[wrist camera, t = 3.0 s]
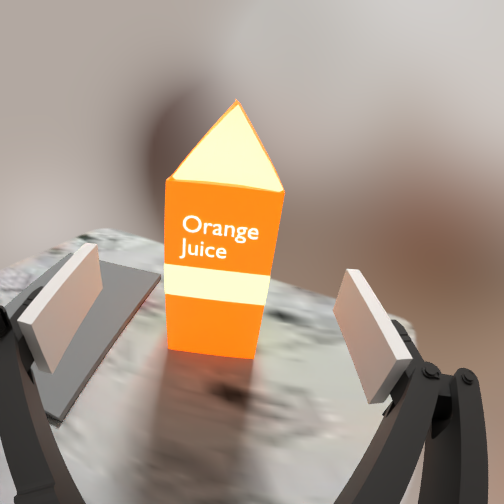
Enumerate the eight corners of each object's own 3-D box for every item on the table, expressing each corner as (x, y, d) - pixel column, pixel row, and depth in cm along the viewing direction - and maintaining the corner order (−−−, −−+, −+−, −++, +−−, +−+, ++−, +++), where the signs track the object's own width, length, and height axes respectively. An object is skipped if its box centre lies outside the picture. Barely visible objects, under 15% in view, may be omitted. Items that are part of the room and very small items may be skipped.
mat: (-37, 353, 16) (-39, 349, 16) (70, 256, 35) (70, 252, 35) (61, 422, 15) (58, 417, 15) (160, 278, 34) (160, 274, 34)
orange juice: (166, 349, 24) (170, 94, 15) (184, 292, 32) (196, 99, 23) (256, 359, 25) (302, 107, 16) (255, 301, 33) (285, 109, 24)
